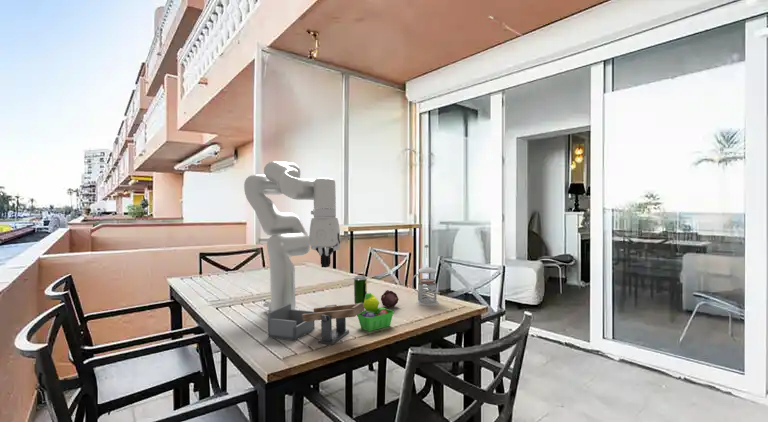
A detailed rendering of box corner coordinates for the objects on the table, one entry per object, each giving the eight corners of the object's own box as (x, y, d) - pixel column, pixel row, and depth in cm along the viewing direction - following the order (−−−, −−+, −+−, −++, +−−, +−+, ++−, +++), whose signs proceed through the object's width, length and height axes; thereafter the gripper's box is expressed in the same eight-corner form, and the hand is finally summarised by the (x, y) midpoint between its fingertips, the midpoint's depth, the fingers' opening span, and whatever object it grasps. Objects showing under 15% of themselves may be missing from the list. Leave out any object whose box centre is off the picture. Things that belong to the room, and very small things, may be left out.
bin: (268, 337, 119) (267, 312, 119) (289, 326, 131) (289, 303, 130) (295, 340, 116) (294, 315, 116) (314, 328, 127) (314, 305, 127)
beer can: (355, 306, 155) (354, 277, 155) (353, 303, 160) (353, 275, 160) (368, 305, 156) (367, 277, 156) (365, 302, 162) (365, 275, 162)
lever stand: (317, 343, 113) (316, 315, 113) (336, 330, 125) (335, 305, 125) (332, 345, 111) (331, 317, 111) (349, 331, 123) (349, 306, 123)
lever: (303, 321, 117) (301, 313, 117) (326, 308, 132) (325, 301, 132) (354, 316, 111) (353, 308, 112) (373, 303, 127) (372, 296, 127)
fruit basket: (367, 333, 122) (367, 299, 122) (353, 326, 129) (353, 294, 129) (395, 326, 128) (394, 293, 128) (380, 320, 136) (379, 289, 136)
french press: (441, 305, 155) (440, 245, 155) (413, 306, 154) (412, 246, 154) (436, 299, 165) (435, 243, 164) (410, 300, 164) (409, 243, 164)
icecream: (403, 294, 147) (395, 290, 162) (386, 291, 146) (379, 286, 161) (400, 312, 146) (392, 306, 161) (382, 308, 145) (376, 302, 160)
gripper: (300, 214, 127) (301, 267, 127) (339, 214, 122) (340, 269, 122) (311, 213, 134) (312, 264, 134) (349, 213, 129) (349, 266, 129)
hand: (325, 266), depth 128 cm, fingers closed
